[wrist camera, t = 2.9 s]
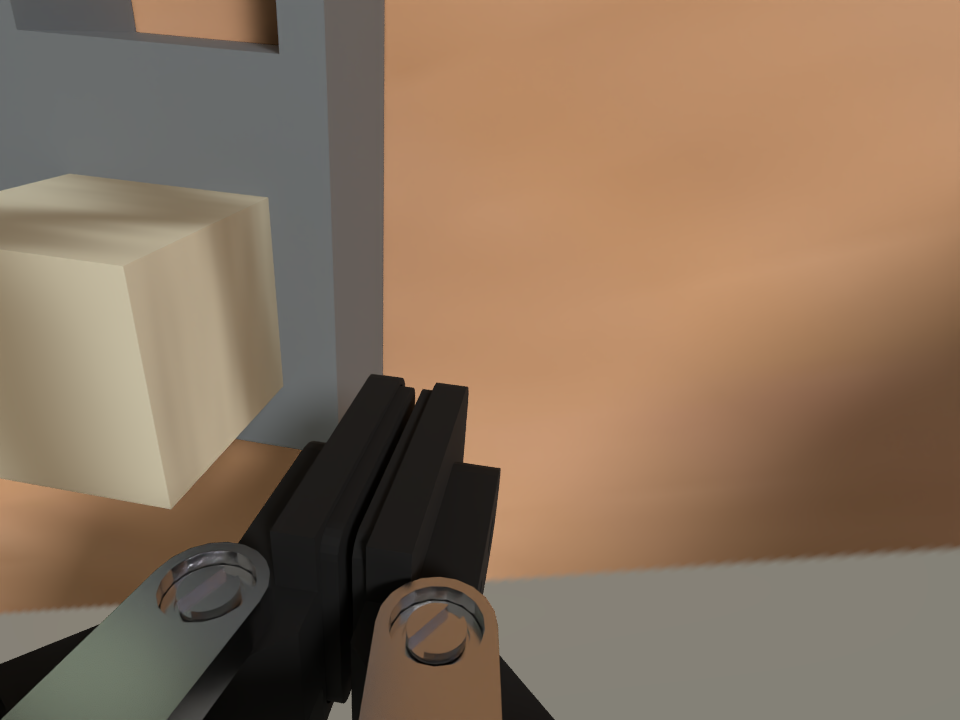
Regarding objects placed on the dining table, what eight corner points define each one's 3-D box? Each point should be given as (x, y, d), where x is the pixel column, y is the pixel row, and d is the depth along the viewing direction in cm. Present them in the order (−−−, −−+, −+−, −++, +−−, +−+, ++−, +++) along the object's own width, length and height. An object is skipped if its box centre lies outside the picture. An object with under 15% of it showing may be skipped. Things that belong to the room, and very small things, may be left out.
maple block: (267, 197, 14) (122, 266, 10) (283, 385, 17) (171, 509, 12) (69, 173, 15) (-152, 228, 10) (110, 359, 17) (-57, 467, 13)
